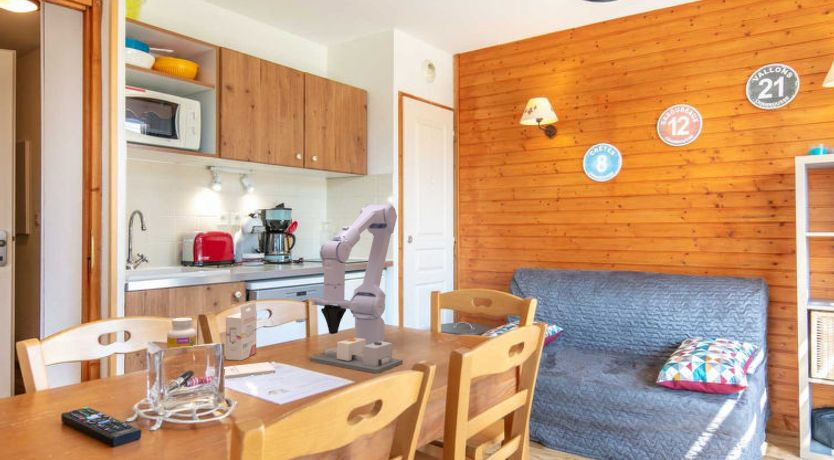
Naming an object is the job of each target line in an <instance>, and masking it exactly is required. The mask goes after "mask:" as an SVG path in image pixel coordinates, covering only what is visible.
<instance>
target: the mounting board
mask: <svg viewBox="0 0 834 460" xmlns="http://www.w3.org/2000/svg"><path fill="white" fill-rule="evenodd" d="M309 361H310V362H312V363H316V364H317V363H318V364H323V365H329V366H333V367H338V368H343V369H344V368H345V369H350V370H354V371H361V372H365V373H370V374H375V375H376V374H377V375H378V374H380V373H382V372H385V371H388V370H390V369H392V368H395V367H397V366H400V365H403V363H404V362H403V361H404V360H403V359H399V358H393V357H392V361H390V362H389V363H387V364H384V365H378V366H376V367H375V366H369V365H364V364H363V362H360V361H355V360H350V361H347V360H341V359H337V357H332V356H327V355H325V352H323V353H320V354H318V355H314V356H311V357H309Z"/></svg>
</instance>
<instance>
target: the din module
mask: <svg viewBox="0 0 834 460" xmlns="http://www.w3.org/2000/svg"><path fill="white" fill-rule="evenodd" d="M363 346H366V339H361V338H355V337H348V338H347V339H343V340H340V341H337V342H336V348H337V359H341V360H347V361H350V360H352V355H354V354H358V353H361V352H363Z"/></svg>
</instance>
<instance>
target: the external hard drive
mask: <svg viewBox="0 0 834 460" xmlns="http://www.w3.org/2000/svg"><path fill="white" fill-rule="evenodd" d="M223 367H224V369H225V379H224V380H226V379H236V378H245V376H246V377H252V376H251V375H255V376H263V375H262V374H264V375H270V374H271V373H273V374H276V368H275V367H273V365H272V364H271V363H270V362H269V361H268V362H267V361H266V362H258V363H256V362H255V363H248V364H239V365H237V364H236V365H230V366H223ZM271 375H272V374H271Z"/></svg>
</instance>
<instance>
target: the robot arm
mask: <svg viewBox="0 0 834 460" xmlns="http://www.w3.org/2000/svg"><path fill="white" fill-rule="evenodd" d="M359 213H360V214H359V216H358V217H357V218H356V219H355V221H354V222H353V223H352V224H351V225H344V226H342V228H341V230H340V231H339V232H338V233H337V234H336V235H334V237H333V238H332V239H331V240H327V241H325V242H324V243H322V245H321V247H320V250H319V257H320V259H321V265H322V267H323V270H324V271H323V297H312V298H311V305H312V306H321V307H322V308H321V309H320V310H321V313H322V315H323V317H324V319H325V322H326V325H327V329H328V333H329V335H335V334H338V333H339V328H340V324H341V321H342V320H343V316H344V315H345V313H346V312H347V310H349V311H350V314H352V317H353V318H354V338H361V339H366V345H369V344H372V343H374V342H379V341H382V342H386V341H385V334H386V332H385V331H386V324H385V320H384V319H383V317H382V316H383V315H384V313H385V308H386V296H387V295H386V294H385V292H384V291H383V289H381V288H380V286H381V282H382V281H381V280H382V277H383V272H384V267H385V263H386V258H387V254H388V249H389V246H390V241H391V237H392V234H394V231H395V227H396V222H397V218H398V216H397V215H398V214H397V210H396V208H395V206H394V205H393V204H391V203H390V204H389V203H388V204H370V203H368V204H365V205H363V206H362V208H360V211H359ZM366 230H367V232H368V233H370V234H372V236H373V238H372V243H371V247H370V251H369V256H368V260H367V264H366V268H365V272H364V277H363V280H362V281H363V282H362V284H360V285H359V286H357V287H356V288H355V289H354V291H353V294H352V296H351V297H350V299H349V300H348V299H345V290H346V289H345V285H346V284H345V281H346V277H345V276H346V261H348V260H349V257H350V255H351V252H352V249H353V248H354V247H355V246H356V244H357V243H358V242H359V241H360V240H361V234H362V233H364V231H366Z"/></svg>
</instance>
